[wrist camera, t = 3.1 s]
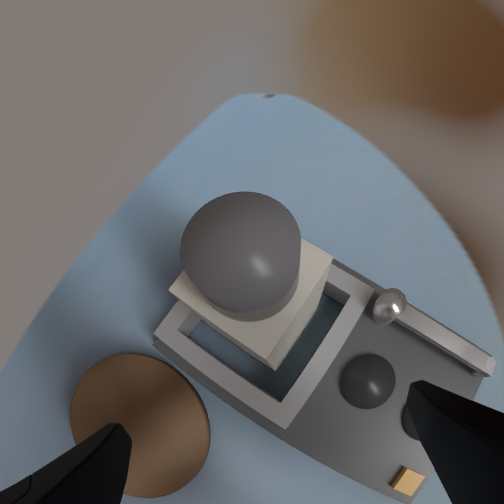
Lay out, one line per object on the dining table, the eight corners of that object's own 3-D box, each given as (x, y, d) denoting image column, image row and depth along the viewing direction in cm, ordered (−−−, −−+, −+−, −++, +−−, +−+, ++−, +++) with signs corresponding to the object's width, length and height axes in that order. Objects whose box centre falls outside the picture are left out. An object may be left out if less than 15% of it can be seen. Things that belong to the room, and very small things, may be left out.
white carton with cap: (315, 312, 22) (343, 221, 11) (275, 371, 21) (258, 350, 9) (257, 276, 24) (225, 161, 12) (217, 331, 23) (139, 263, 11)
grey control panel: (481, 358, 19) (499, 353, 17) (402, 498, 16) (414, 509, 13) (254, 223, 26) (250, 205, 23) (160, 348, 22) (146, 342, 20)
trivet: (241, 418, 20) (239, 419, 19) (157, 518, 17) (151, 523, 16) (126, 327, 23) (119, 323, 22) (59, 425, 20) (50, 425, 19)
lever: (473, 362, 19) (502, 355, 15) (464, 383, 19) (493, 380, 15) (372, 300, 22) (387, 282, 19) (360, 321, 22) (374, 307, 18)
